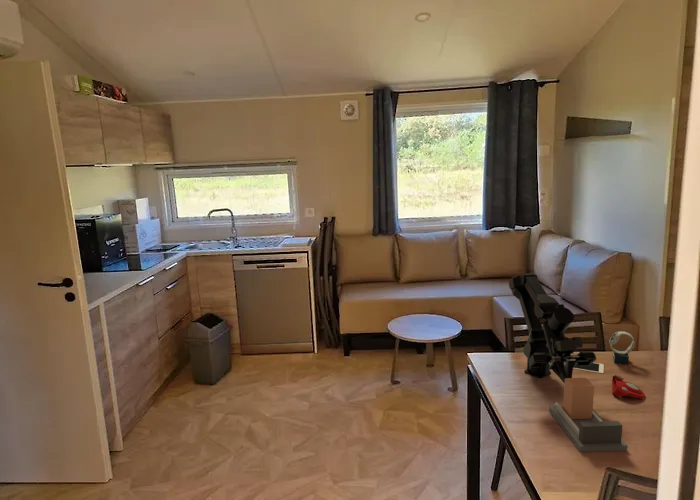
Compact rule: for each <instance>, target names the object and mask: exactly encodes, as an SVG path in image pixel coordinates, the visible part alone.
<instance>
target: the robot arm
mask: <svg viewBox="0 0 700 500" xmlns="http://www.w3.org/2000/svg"><path fill="white" fill-rule="evenodd" d="M538 278H539V277H538V275H537V274H536V273H523V274H520V275H518V276H517V275H516V276H512V277H511V278H510V279H509V280H508V288H509V289H510V291H511V293H512V295H513V297H515V298H516V299H518V301H519V304H520V307H521V311H522V313H523V314H522V315H523V316H524V320H525V324H526V327H527V330H528V337H527V339H526V344H524V346H523V355H524V356H525V357H526V358H527V361H526V366H527V367H526V369H524V373H526V374H529V375H532V376H534V377H536V378H539V379H542V378H544V377H546V376H547V375H549V374H551V373H552V372H554V374H556V375H557V377H558V378H559V379H560V380H561V382H562V383H563V384H564V383H565V378H573V372H574V371H573V370H574V369H573V367H574V366H575V365H576V364H577V365H579V366H589V365H591V364H592V363H595V362H596V361H597V359H598V358H597V356H596V353H595V352H594V351H592V350H583V351H582V350H581V351H580V352H578V353H577V354H576V355H571V354H574V353H575V352H577V351H578V349H580V348H581V349H582V348H583V340H582V337H581V336H573V337H572V338H571V339H569V338H568V336H566V335H565V334H566V333H565V331H566V330H567V329H568V327H570V325H571V324H572V323H573V322H574V320H575V316H574V313H573V312H572V311H571V310H570V309H569V308H567V307H565V305H564V304H563V303H561V304H560V303H559V301H558V300H556V298H554V297H552V296H550V295H549V294H547V292H546V290H545V288H544V287H543V286H542V284H541V283H540V280H539V279H538ZM541 320H545V321H544V322H543V324H542V322H541Z"/></svg>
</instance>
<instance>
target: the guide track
mask: <svg viewBox="0 0 700 500" xmlns="http://www.w3.org/2000/svg"><path fill="white" fill-rule="evenodd" d="M548 412H549V414H550V415H551V416H552V417H553V419H554V420H555V421H556V422H557V424H558V426H560V428H561V429H562V430H563V432H564V433H565V434H566V436H567V437H568V438H569V440H570V441H571V442H572V443H573V445H574V446H575V448H576V449H577V450H578V452H580V453H594V452H595V453H597V452H599V453H601V452H624V451H626V452H627V451H628V444H627V443H626V442H625V441H624V440H623V438H622V435H623V424H622V423H621V422H620V421H619V420H611V421H610V420H609V421H606V420H604V418H602V417H601V415H599V413H598V412H597V411H596V410H595V409H594V408H593V412H592V419H571V418H570V417H569V416H568V415H567V414H566V412H565V411H564V410H563V405H560V404H559V402H554V405H553V406H548Z"/></svg>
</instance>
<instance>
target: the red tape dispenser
mask: <svg viewBox="0 0 700 500" xmlns="http://www.w3.org/2000/svg"><path fill="white" fill-rule="evenodd" d="M611 377H612V378H611V386H612V387H611V388H612V389H611V393H612V394H613V395H614V396H616V397H617V398H621V397H624V396H625V397H632V398H635V399H640V400H643V399H644V398H645V396H646V394H645V393H644V391H643V390H642V389H640V387H638V386H637V385H635V384H634V383H632V382H631V383H630V382H628V381H625V378H623V377H622V376H620V375H617V374H613V375H612V374H611Z"/></svg>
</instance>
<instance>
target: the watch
mask: <svg viewBox="0 0 700 500" xmlns="http://www.w3.org/2000/svg"><path fill="white" fill-rule="evenodd" d="M622 335H624V336H625V335H626V336H628V337H629V338H631V343H630V344H629V346H628V347H627V348H626V349H625V350H622V349H616V348H614V347H613V345H615V344H616V343H618V341H619V340H620V338H621V336H622ZM608 344H609V345H610V349H611V350H612V351H613V353H612V358H613V363H614V364H615V365H616V364H617V365H626V366H629V358H630V356H629V354H630V353H631V352H632V350H633V349H634V347H635V344H636V342H635V339H634V337H633V335H632V334H631V333H630V332H626V331H624V330H623V331H622V330H621V331H616V332H614V333H612V335H611V336H610V338H609V340H608Z"/></svg>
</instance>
